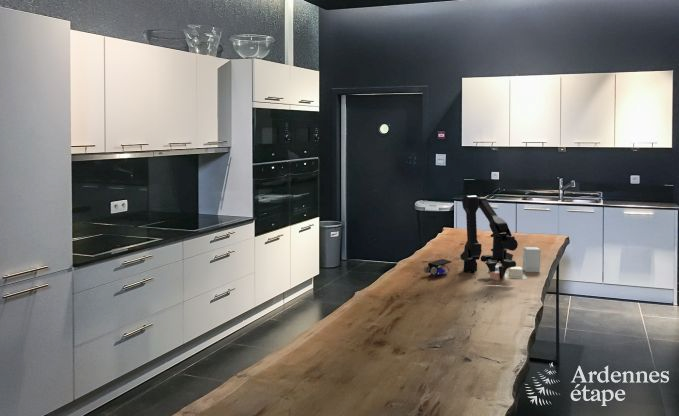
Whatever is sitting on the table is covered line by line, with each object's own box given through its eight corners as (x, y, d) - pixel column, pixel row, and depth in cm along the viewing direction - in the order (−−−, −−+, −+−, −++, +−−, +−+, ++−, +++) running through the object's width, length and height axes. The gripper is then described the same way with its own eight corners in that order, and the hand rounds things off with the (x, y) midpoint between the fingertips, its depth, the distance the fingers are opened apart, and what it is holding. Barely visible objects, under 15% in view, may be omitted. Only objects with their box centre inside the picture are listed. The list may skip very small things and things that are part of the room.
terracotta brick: (497, 281, 327) (497, 273, 327) (489, 279, 332) (490, 271, 331) (504, 280, 330) (504, 272, 330) (497, 278, 334) (497, 270, 334)
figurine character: (433, 281, 333) (452, 273, 343) (433, 266, 331) (452, 259, 341) (423, 279, 338) (441, 271, 348) (422, 264, 336) (441, 257, 346)
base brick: (510, 276, 335) (510, 269, 334) (508, 274, 341) (508, 266, 340) (522, 277, 334) (522, 269, 334) (520, 274, 340) (521, 266, 340)
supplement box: (539, 273, 347) (541, 249, 345) (525, 273, 347) (526, 249, 345) (536, 270, 354) (537, 246, 352) (521, 270, 354) (523, 246, 352)
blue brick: (488, 273, 346) (488, 266, 345) (493, 272, 349) (494, 264, 349) (497, 275, 342) (497, 267, 342) (502, 273, 346) (502, 266, 345)
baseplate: (502, 279, 332) (502, 277, 332) (500, 274, 342) (500, 273, 342) (527, 280, 331) (527, 278, 331) (524, 275, 341) (524, 274, 341)
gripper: (524, 248, 325) (523, 280, 327) (496, 242, 341) (495, 272, 343) (508, 251, 319) (507, 282, 321) (480, 244, 335) (479, 275, 337)
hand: (497, 278), depth 331 cm, fingers closed on terracotta brick, 5 cm apart
